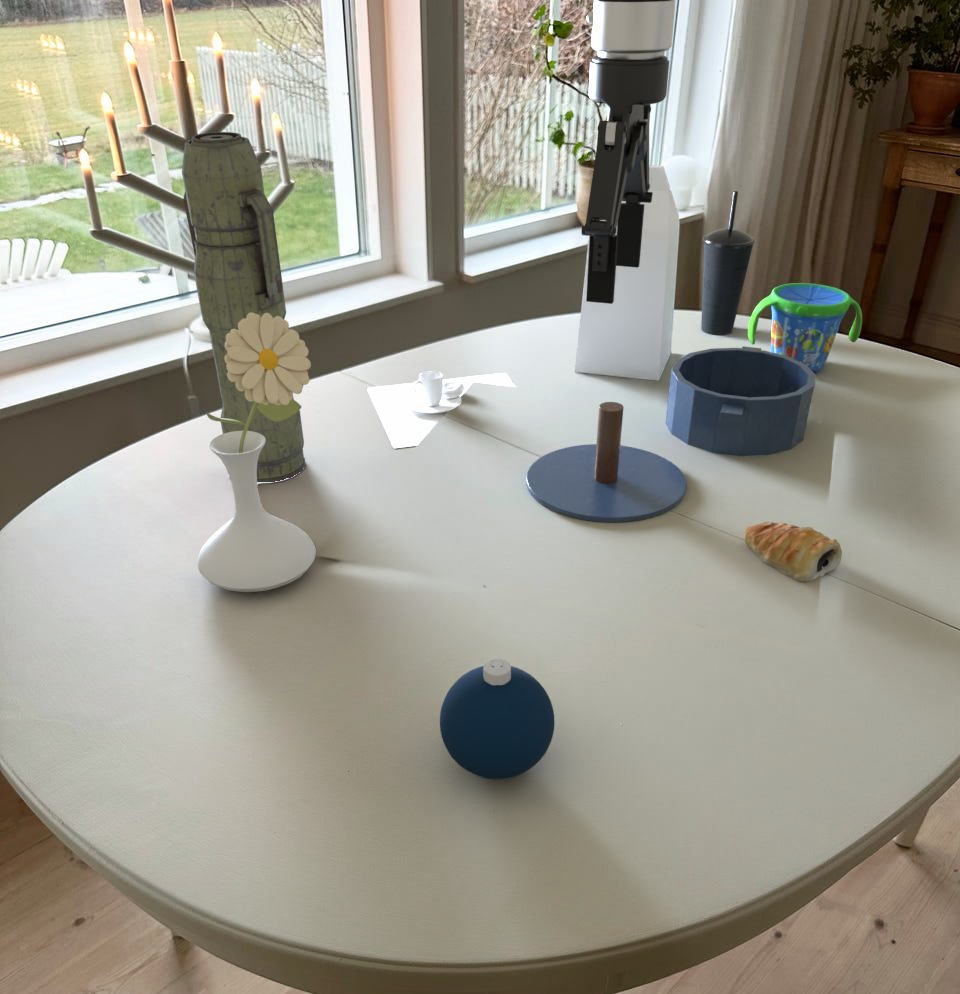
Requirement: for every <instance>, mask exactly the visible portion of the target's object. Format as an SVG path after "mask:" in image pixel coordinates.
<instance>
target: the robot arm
mask: <svg viewBox="0 0 960 994" xmlns="http://www.w3.org/2000/svg"><path fill="white" fill-rule="evenodd" d="M675 10H676V0H593V11H589V12H588V13H587V15H586V21H587V23H588V24H589V25H591V24H592V25H593V26H592V29H591V48H592V49H593V50H594V51H596V52H597V55H594V56H593V57H592V59H591V60H590V61H589V79H588V80H589V81H588V97H589V99H590V101H591V102H594V103H595V104H600V105H603V104H606V105H607V106H608V112H607V118H606V120H599V122H598V125H597V139H596V150H595V156H594V157H595V159H594V162H593V163H594V164H593V172H592V176H591V177H592V178H591V184H590V185H591V186H590V191H589V196H588V197H589V198H588V206H587V211H586V217H585V218H586V219H585V223H584V225H582V226H581V236H585V237H589V236H590V241H589V260H588V278H587V297H586V302H597V303H608V304H612V303H613V302H614V288H615V274H616V266H625V267H637V268H638V267H639V263H640V252H641V240H642V228H643V216H644V204H640V202H644V203H651V201H652V195H653V192H648V190H649V189H650V184H649V165H650V122H651V121H650V119H651V111H652V106H651V105H654V104H659V103H661V102H663V101H664V100H665V99H666V97H667V93H668V83H669V82H668V81H669V70H670V60H668V56H665V52H667V51H669V50H670V49H671V48H672V44H673V36H674V35H673V34H674V33H673V32H674V21H675V12H676V11H675ZM622 201H626V203H622ZM600 220H606V221H600ZM616 228H617V229H616ZM616 231H617V235H615V234H616Z"/></svg>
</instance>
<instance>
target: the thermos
mask: <svg viewBox="0 0 960 994" xmlns="http://www.w3.org/2000/svg"><path fill="white" fill-rule="evenodd" d="M183 149H184V150H183V158H182V165H181V166H182V167H181V175H182V181H183V186H184V195H183V204H184V209H185V215H186V220H187V224H188V229H189V234H190V239H191V243H192V249H193V254H194V264H193V276H194V281H195V287H196V292H197V297H198V303H199V308H200V314H201V318H202V319H201V320H202V321H203V323H204V325H205V326H206V328H207V330H208V332H209V338H210V344H211V348H212V355H213V361H214V365H215V370H216V371H215V372H216V376H217V382H218V388H219V394H220V398H221V402H222V408H221V413H220V418H226V419H233V420H237V421H241V422H243V423H244V424H246V422H247V419H248V417H249V415H250V412H251V410H252V407H253V404H254V401H252V402H250V401H248V400H247V399H246V398H245V391H242V392H241V391H239V390H238V389H237V388H236V385H235V384H236V382H231V381H230V380H229V379H228V377H227V373H228V370H227V368H226V365H227V364H226V362H225V359H224V358H225V355H227V350H226V349H225V346H224V345H225V342H226V335H227V334H228V333H230V331H231V329H237V330H239V329H238V323H239V322H240V321H241V320H242V319H244V318H246V317H247V315H248V314H249V313H251V312H252V313H255V314H258V315H260V317H261V318H262V316H263V314H265V313H269V314H270V315H271V316H272V317H273V318H274V317H276V316H280V317H281V318H282V319H283V320H286V316H287V307H286V300H285V292H284V285H283V276H282V269H281V261H280V252H279V246H278V238H277V231H276V223H275V215H274V209H273V207H272V205H271V203H270V202H269V200H268V198H267V197H266V195H265V187H264V180H263V179H264V178H263V173H262V172H263V171H262V167H261V165H260V161H259V160H258V156H257V155H256V153H255V150H254V148H253V146H252V144H251V141H250V139H249V138H248V137H245V136H242V134H241V133H238V132H234V131H233V132H232V131H215V132H214V131H213V132H204V133H198V134H195V135H193V136H191V138H190V139H189V140H186V141H185V142H184V148H183ZM292 393H293V392H292ZM293 394H294V393H293ZM258 404H259V403H258ZM258 404H257V406H258ZM220 426H221V431H222V434H225V433H228V432H233V431H243V430H244V427H245V426H244V425H237V424H232V423H227V422H220ZM247 431H253V432H257V433H259V434H261V435H263V436H264V437H265V439H266V442H265V445H264V446H263V448H262V450H261V452H260V454H259V457H258V461H257V482H275V481H280V480H284V479H286V478H291V477H293V476H294V475H296V474H298V473H299V472H301V471H302V470H303V471H304V469H305V468H306V458H305V456H304V455H305V454H304V444H305V440H304V433H303V423H302V416H301V409H300V410H299V411H298V412H296V413H295V414H294V415H292V416H291V417H289V418H287V419H285V420H283V421H279V422H275V421H272V420H270V419H269V418H267V417H266V416H264V415H263V414H262V413H261V412H260V411H259V409H258V408H257V407H256V410H255V413H254V415H253V418H252V420H251V422H250V425H249V427H248V430H247ZM304 467H305V468H304ZM303 468H304V469H303ZM303 471H302V472H303ZM302 472H301V473H302ZM298 475H299V474H298ZM293 478H294V477H293ZM291 479H292V478H291Z"/></svg>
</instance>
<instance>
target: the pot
mask: <svg viewBox="0 0 960 994" xmlns="http://www.w3.org/2000/svg"><path fill="white" fill-rule="evenodd" d="M816 379H817V374H816V373H815V372H814V371H812V370H811V369H810V368H809V367H808V366H807V365H805V364H803V363H801V362H799V361H797V360H795V359H793V358H791V357H788V356H785V355H780V354H776V353H772V352H771V351H768V350H763V349H762V348H761V347H752V346H742V347H719V348H718V347H715V348H707V349H703V350H697V351H692V352H689V353H688V354H685V355H683V356H681V357H679V358H677V359H676V360H675V362H674V364H673V366H672V368H671V372H670V380H669V388H668V397H667V407H666V414H665V417H666V418H665V425H666V426H667V428H668V430H669V433H670V434H671V435H672V436H673V437H674V438H677V440H680V441H681V442H683V443H685V444H686V445H688V446H691V447H693V448H697V449H700V450H703V451H707V452H710V453H712V454H713V453H714V454H721V455H729V456H735V457H756V456H757V457H759V456H770V455H774V454H778V453H782V452H786V451H790V450H792V449H793V448H795V447H796V446H797V445H799V444H801V443H802V442H803V441H804V440H805V434H806V431H807V425H808V419H809V415H810V411H811V410H810V409H811V406H812V402H813V401H812V400H813V396H814V391H815V385H816Z"/></svg>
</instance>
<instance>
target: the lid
mask: <svg viewBox="0 0 960 994" xmlns="http://www.w3.org/2000/svg"><path fill="white" fill-rule="evenodd" d="M624 407H625V406H624V405H623V404H622V403H619V402H616V401H605V402H602V403H599V405H598V417H597V433H596V443H591V444H590V443H589V444H579V445H572V446H567V447H563V448H559V449H556V450H554V451H550V452H549V453H546V454H544V455H542V456H541V457H539V458H538V459H537V460H534V462H533V463H532V464H531V465H530V467H529V468H528V470H527V473H526V479H525V480H526V482H525V483H526V487H527V491H528V492H529V494H530V495H531V496H532V498H534V500H535V501H537V503H539V504H541V505H542V506H543V507H545V508H547V509H549V510H550V511H553V512H556V513H558V514H560V515H563V516H566V517H570V518H574V519H578V520H583V521H587V522H588V521H589V522H600V523H626V522H635V521H636V522H637V521H642V520H647V519H650V518H651V519H652V518H653V517H658V516H660V515H662V514H664V513H667V512H669V511H670V510H672V509H674V508H675V507H677V505H679V503H680V502H681V501H682V500H683V498H684V497H685V495H686V490H687V480H686V477H685V474H684V473H683V472H682V470H681V469H680V468H679V467H678V466H677V465H676V464H675V463H673V462H672V461H670V460H669V459H667V458H665V457H663V456H661V455H659V454H656V453H654V452H651V451H649V450H645V449H642V448H637V447H633V446H626V445H622V444H621V441H622V432H623V431H622V430H623V419H624V409H625V408H624Z"/></svg>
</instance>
